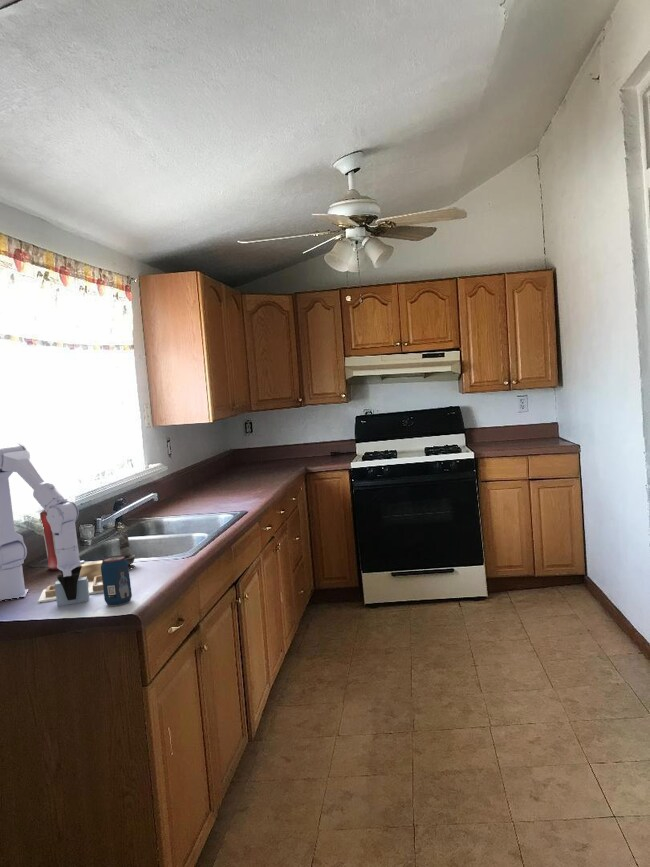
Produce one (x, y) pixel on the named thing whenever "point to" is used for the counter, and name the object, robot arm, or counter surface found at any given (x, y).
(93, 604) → the counter surface
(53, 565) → the liquor
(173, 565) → the counter surface
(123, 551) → the salt shaker
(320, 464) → the counter surface
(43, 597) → the jig
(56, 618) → the counter surface
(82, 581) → the light blue block
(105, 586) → the soda can
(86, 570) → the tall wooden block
